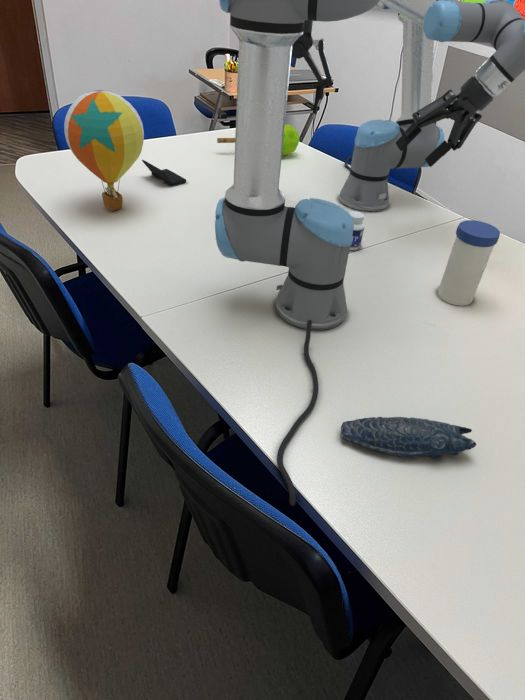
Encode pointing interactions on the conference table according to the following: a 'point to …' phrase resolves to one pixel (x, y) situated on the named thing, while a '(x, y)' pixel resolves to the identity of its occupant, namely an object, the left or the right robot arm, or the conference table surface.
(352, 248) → the pill bottle
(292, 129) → the decorative tree
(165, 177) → the black angled piece
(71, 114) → the toy
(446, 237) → the conference table surface
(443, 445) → the fish model
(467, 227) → the lid
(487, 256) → the jar
